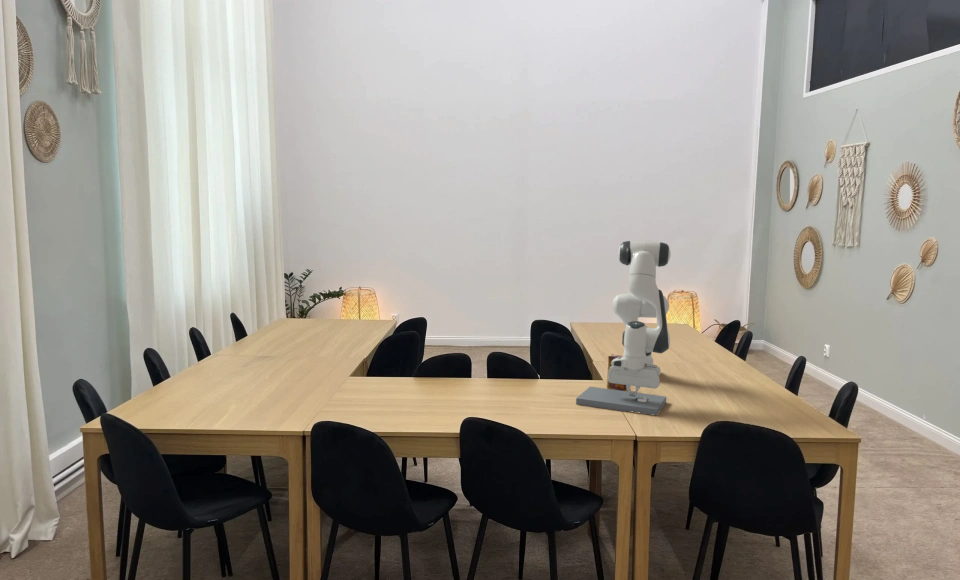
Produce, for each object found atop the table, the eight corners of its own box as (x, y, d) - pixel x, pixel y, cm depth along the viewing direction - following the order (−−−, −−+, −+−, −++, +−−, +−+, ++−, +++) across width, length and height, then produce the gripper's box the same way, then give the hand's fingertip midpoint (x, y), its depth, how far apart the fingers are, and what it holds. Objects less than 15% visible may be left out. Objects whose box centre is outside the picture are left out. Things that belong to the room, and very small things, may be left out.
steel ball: (639, 393, 272) (649, 396, 270) (637, 402, 273) (647, 405, 271) (637, 396, 268) (646, 400, 267) (635, 406, 269) (644, 409, 268)
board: (589, 392, 289) (589, 386, 289) (666, 402, 276) (666, 396, 275) (576, 404, 271) (576, 398, 271) (656, 415, 258) (657, 409, 257)
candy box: (606, 389, 293) (607, 355, 291) (609, 387, 297) (611, 353, 295) (626, 393, 289) (627, 358, 287) (629, 390, 293) (630, 356, 291)
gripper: (662, 363, 268) (660, 397, 270) (611, 358, 276) (610, 391, 278) (659, 367, 262) (657, 401, 264) (607, 361, 271) (606, 394, 272)
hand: (632, 396), depth 271 cm, fingers closed
